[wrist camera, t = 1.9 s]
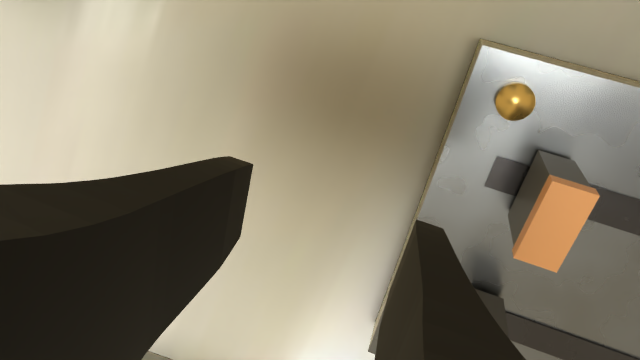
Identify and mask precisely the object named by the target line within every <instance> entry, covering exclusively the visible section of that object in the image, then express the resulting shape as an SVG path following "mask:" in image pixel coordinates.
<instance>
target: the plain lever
mask: <svg viewBox="0 0 640 360" xmlns="http://www.w3.org/2000/svg"><path fill="white" fill-rule="evenodd" d="M474 289H475V288H474ZM475 290H476V292H477V294H478V295H479V297H480V298H481V300H482V301H483V303H484V304H485V306H486V307H487V309H488V311H489V312H490V314H491V315H492V317H493V318H494V319H495V321H496V322H497V324H498V325H499V326H500V328H501V329H502V330H503V332H504V333H505V334H506V335H507V337H508V338H509V336H508V328H507V321H506V313H505V305H504V299H503V298H500V297H497V296H494V295H492V294H489V293H486V292H483V291H480V290H477V289H475Z"/></svg>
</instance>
